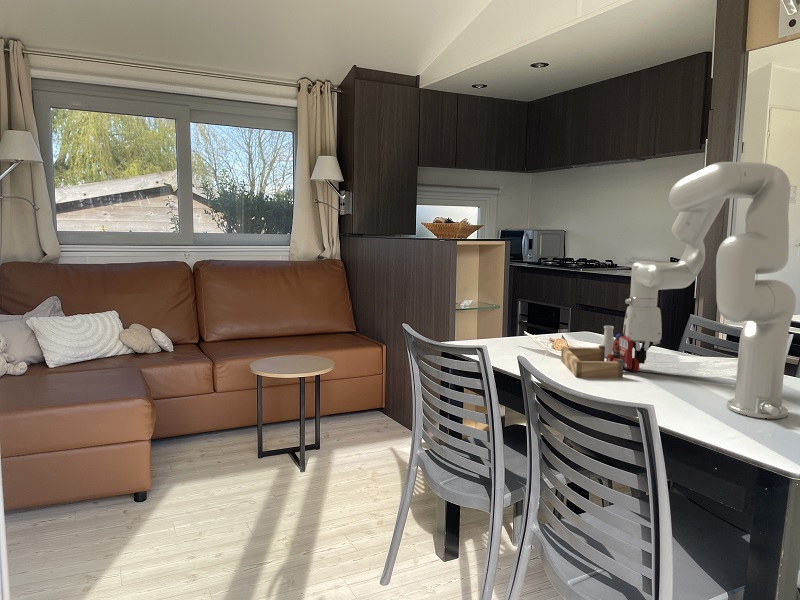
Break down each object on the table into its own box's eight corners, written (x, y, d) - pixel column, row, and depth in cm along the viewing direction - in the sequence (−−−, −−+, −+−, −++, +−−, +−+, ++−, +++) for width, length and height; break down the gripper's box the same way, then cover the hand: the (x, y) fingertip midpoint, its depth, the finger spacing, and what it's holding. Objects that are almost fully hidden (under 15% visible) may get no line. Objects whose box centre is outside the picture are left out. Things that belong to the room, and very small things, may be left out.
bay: (622, 377, 168) (623, 360, 168) (576, 377, 169) (576, 359, 168) (602, 361, 187) (603, 345, 186) (561, 360, 188) (561, 345, 187)
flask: (596, 357, 192) (597, 327, 190) (595, 352, 199) (597, 324, 197) (619, 359, 190) (621, 329, 188) (618, 354, 197) (619, 325, 195)
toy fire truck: (625, 363, 184) (627, 331, 182) (641, 374, 172) (643, 340, 170) (603, 363, 184) (605, 331, 182) (617, 374, 172) (619, 340, 170)
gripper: (622, 304, 171) (618, 365, 174) (674, 305, 170) (670, 366, 173) (614, 300, 178) (611, 359, 181) (664, 301, 178) (660, 359, 180)
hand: (639, 362), depth 177 cm, fingers closed
